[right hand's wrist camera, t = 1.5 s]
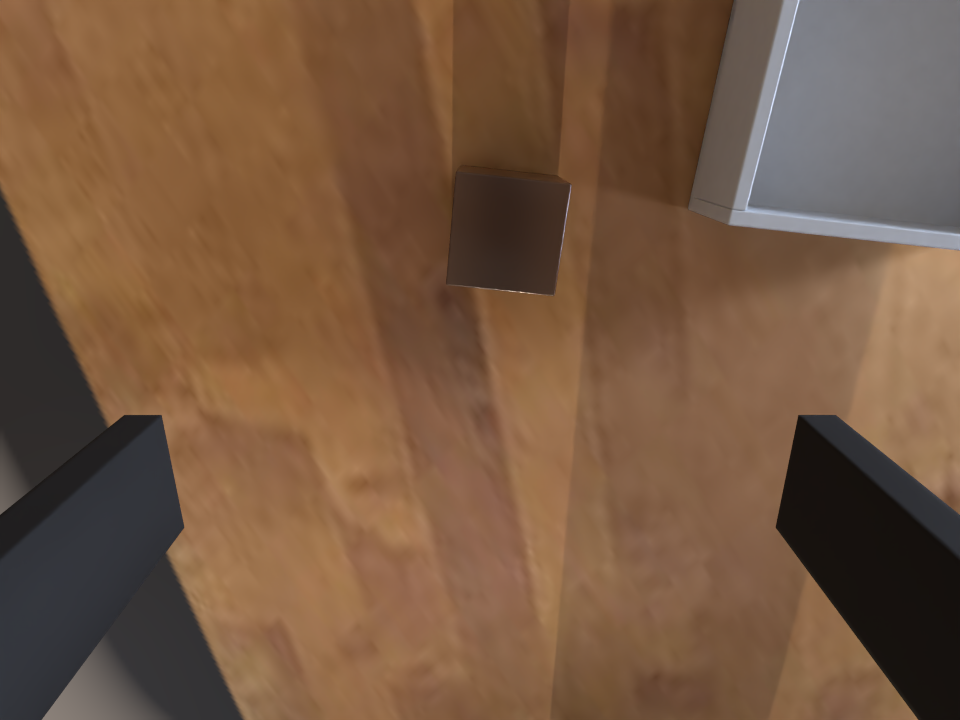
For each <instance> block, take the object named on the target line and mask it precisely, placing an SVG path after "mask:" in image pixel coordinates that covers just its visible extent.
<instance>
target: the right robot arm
mask: <svg viewBox="0 0 960 720" xmlns="http://www.w3.org/2000/svg"><path fill="white" fill-rule="evenodd" d="M183 529H184V524H183V519H182V514H181V509H180V504H179V499H178V494H177V489H176V484H175V479H174V474H173V469H172V465H171V460H170V455H169V450H168V445H167V440H166V435H165V430H164V425H163V420H162V415H124V416H123V417H121V418H120V419H119V420H118V421H116V422H115V423H114V424H113V425H111V426H110V427H109V428H108V429H106V430H105V431H104V432H103V433H101V434H100V435H99V436H98V437H97V438H95V439H94V440H93V441H92V442H90V443H89V444H88V445H87V446H85V447H84V448H83V449H82V450H80V451H79V452H78V453H77V454H75V455H74V456H73V457H72V458H70V459H69V460H68V461H67V462H65V463H64V464H63V465H62V466H61V467H59V468H58V469H57V470H55V471H54V472H53V473H52V474H51V475H49V476H48V477H47V478H46V479H44V480H43V481H42V482H41V483H39V484H38V485H37V486H36V487H34V488H33V489H32V490H31V491H29V492H28V493H27V494H26V495H24V496H23V497H22V498H21V499H19V500H18V501H17V502H16V503H14V504H13V505H12V506H11V507H9V508H8V509H7V510H6V511H5V512H3V513H2V514H1V515H0V720H42V718H43V717H44V716H45V714H46V713H47V712H48V710H49V709H50V708H51V706H52V705H53V704H54V702H55V701H56V699H57V698H58V697H59V695H60V694H61V693H62V691H63V690H64V689H65V687H66V686H67V685H68V683H69V682H70V681H71V679H72V678H73V677H74V675H75V674H76V673H77V671H78V670H79V669H80V667H81V666H82V665H83V663H84V662H85V661H86V659H87V658H88V656H89V655H90V654H91V652H92V651H93V650H94V648H95V647H96V646H97V644H98V643H99V642H100V640H101V639H102V638H103V636H104V635H105V634H106V632H107V631H108V629H109V628H110V627H111V625H112V624H113V623H114V621H115V620H116V619H117V617H118V616H119V615H120V613H121V612H122V611H123V609H124V608H125V607H126V605H127V604H128V603H129V601H130V600H131V599H132V597H133V596H134V595H135V593H136V592H137V590H138V589H139V588H140V586H141V585H142V584H143V582H144V581H145V580H146V578H147V577H148V576H149V574H150V573H151V572H152V570H153V569H154V568H155V566H156V565H157V563H158V562H159V561H160V559H161V558H162V557H163V555H164V554H165V553H166V551H167V550H168V549H169V547H170V546H171V545H172V543H173V542H174V541H175V539H176V538H177V537H178V535H179V534H180V533H181V531H182V530H183ZM776 529H777V530H778V531H779V533H780V534H781V535H782V537H783V538H784V539H785V541H786V542H787V543H788V545H789V546H790V547H791V549H792V550H793V551H794V553H795V554H796V555H797V557H798V558H799V559H800V561H801V562H802V564H803V565H804V566H805V568H806V569H807V570H808V572H809V573H810V574H811V576H812V577H813V578H814V580H815V581H816V582H817V584H818V585H819V586H820V588H821V589H822V590H823V592H824V593H825V595H826V596H827V597H828V599H829V600H830V601H831V603H832V604H833V605H834V607H835V608H836V609H837V611H838V612H839V613H840V615H841V616H842V617H843V619H844V620H845V621H846V623H847V624H848V625H849V627H850V628H851V630H852V631H853V632H854V634H855V635H856V636H857V638H858V639H859V640H860V642H861V643H862V644H863V646H864V647H865V648H866V650H867V651H868V652H869V654H870V655H871V656H872V658H873V659H874V661H875V662H876V663H877V665H878V666H879V667H880V669H881V670H882V671H883V673H884V674H885V675H886V677H887V678H888V679H889V681H890V682H891V683H892V685H893V686H894V687H895V689H896V690H897V691H898V693H899V694H900V696H901V697H902V698H903V700H904V701H905V702H906V704H907V705H908V706H909V708H910V709H911V710H912V712H913V713H914V714H915V716H916V717H917V718H918V720H960V515H959V514H958V513H957V512H956V511H954V510H953V509H952V508H951V507H949V506H948V505H947V504H946V503H944V502H943V501H942V500H941V499H939V498H938V497H937V496H936V495H934V494H933V493H932V492H931V491H929V490H928V489H927V488H926V487H924V486H923V485H922V484H921V483H919V482H918V481H917V480H916V479H914V478H913V477H912V476H911V475H909V474H908V473H907V472H906V471H905V470H903V469H902V468H901V467H900V466H898V465H897V464H896V463H895V462H893V461H892V460H891V459H890V458H888V457H887V456H886V455H885V454H883V453H882V452H881V451H880V450H878V449H877V448H876V447H875V446H873V445H872V444H871V443H870V442H868V441H867V440H866V439H865V438H863V437H862V436H861V435H860V434H859V433H857V432H856V431H855V430H854V429H852V428H851V427H850V426H849V425H847V424H846V423H845V422H844V421H842V420H841V419H840V418H839V417H837V416H836V415H798V420H797V425H796V430H795V435H794V440H793V445H792V450H791V455H790V460H789V464H788V469H787V474H786V479H785V484H784V489H783V494H782V499H781V504H780V509H779V514H778V519H777V524H776Z"/></svg>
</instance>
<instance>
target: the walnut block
mask: <svg viewBox="0 0 960 720" xmlns="http://www.w3.org/2000/svg"><path fill="white" fill-rule="evenodd" d="M571 186H572V185H571V184H570V183H568V182H567V181H565V180H563V179H562V178H560V177H558V176H553V175H544V174H535V173H526V172H518V171H509V170H500V169H491V168H482V167H473V166H464V165H461V166H460V167H459V169H458V170H457V172H456V178H455V189H454V201H453V212H452V223H451V234H450V246H449V257H448V268H447V280H446V284H447V285H452V286H462V287H471V288H481V289H490V290H500V291H509V292H519V293H528V294H538V295H547V296H554V295H555V290H556V284H557V277H558V271H559V264H560V258H561V251H562V245H563V238H564V231H565V225H566V218H567V212H568V205H569V199H570V192H571Z"/></svg>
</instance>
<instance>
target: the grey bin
mask: <svg viewBox="0 0 960 720" xmlns="http://www.w3.org/2000/svg"><path fill="white" fill-rule="evenodd" d="M688 210H690V211H693V212H696V213H698V214H701V215H703V216H706V217H709V218H711V219H714V220H717V221H719V222H722V223H724V224H727V225H732V226H741V227H750V228H759V229H769V230H778V231H787V232H796V233H805V234H814V235H823V236H832V237H841V238H850V239H860V240H869V241H878V242H887V243H896V244H905V245H914V246H923V247H932V248H941V249H951V250H960V0H734V2H733V6H732V11H731V15H730V20H729V24H728V29H727V33H726V38H725V42H724V47H723V52H722V56H721V61H720V65H719V70H718V74H717V79H716V83H715V88H714V92H713V97H712V101H711V106H710V111H709V115H708V120H707V124H706V129H705V133H704V138H703V142H702V147H701V151H700V156H699V160H698V165H697V170H696V174H695V179H694V183H693V188H692V192H691V197H690V201H689V206H688Z"/></svg>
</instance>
